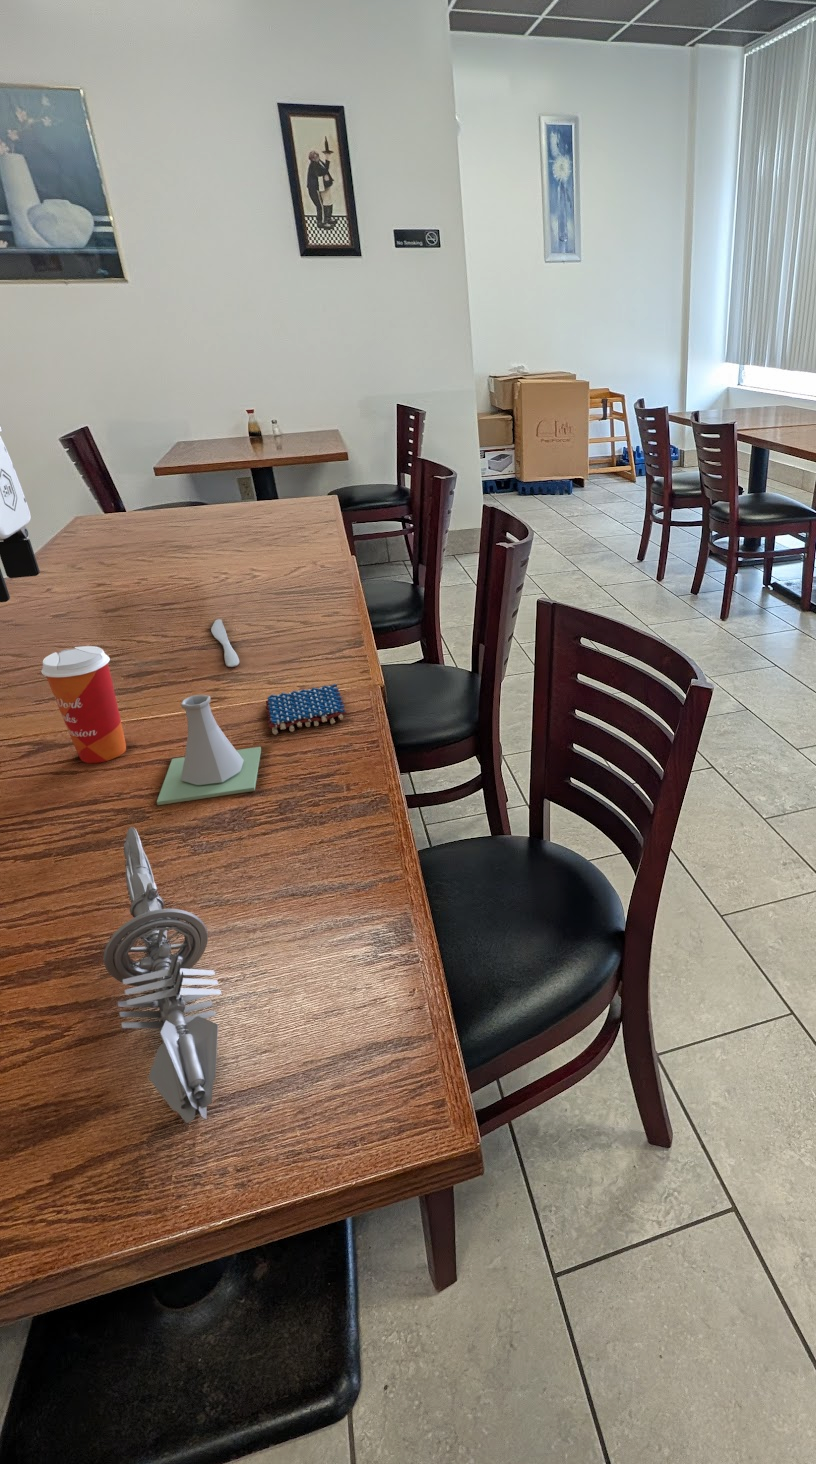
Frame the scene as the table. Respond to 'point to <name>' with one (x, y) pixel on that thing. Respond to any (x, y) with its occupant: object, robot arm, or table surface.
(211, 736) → the flask
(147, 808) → the table surface
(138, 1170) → the table surface
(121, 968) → the spaceship
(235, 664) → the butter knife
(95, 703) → the paper cup
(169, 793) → the coaster
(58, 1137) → the table surface
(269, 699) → the woven mat
